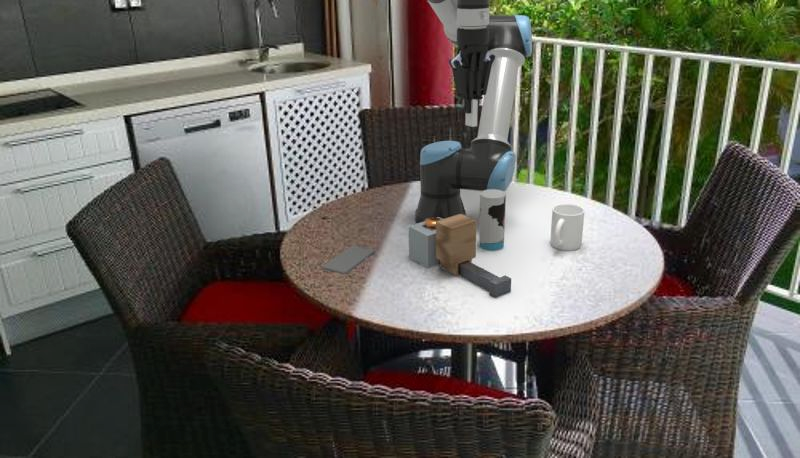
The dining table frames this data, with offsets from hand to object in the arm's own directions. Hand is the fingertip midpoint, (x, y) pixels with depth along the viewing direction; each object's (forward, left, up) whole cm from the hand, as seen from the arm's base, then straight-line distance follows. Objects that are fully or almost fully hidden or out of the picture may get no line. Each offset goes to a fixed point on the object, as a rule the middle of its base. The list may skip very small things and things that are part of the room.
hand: (471, 125), depth 169 cm
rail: (+12, -10, -34) cm, 38 cm away
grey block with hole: (-3, -10, -34) cm, 36 cm away
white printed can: (+1, +7, -35) cm, 35 cm away
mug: (+14, +21, -35) cm, 43 cm away
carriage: (+6, -10, -34) cm, 36 cm away
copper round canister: (-3, -10, -31) cm, 33 cm away
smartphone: (-16, -28, -35) cm, 48 cm away
